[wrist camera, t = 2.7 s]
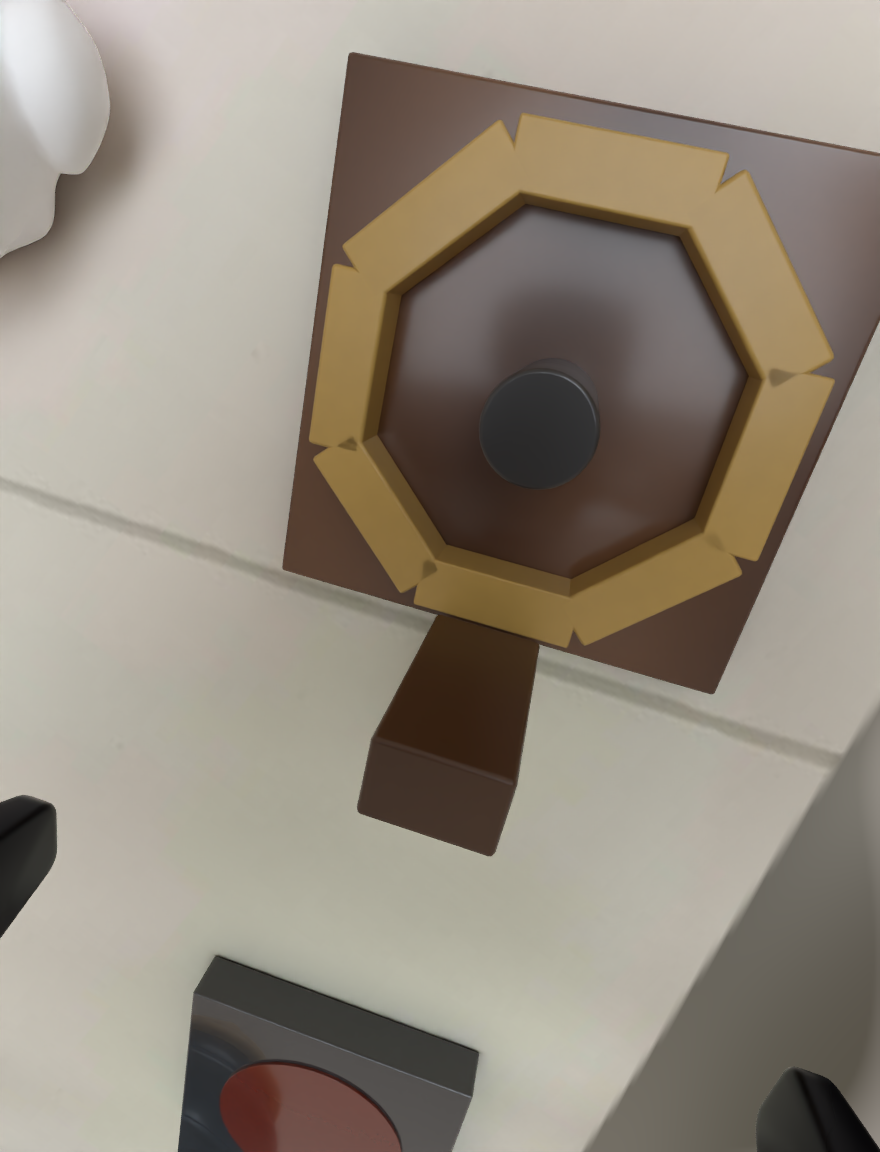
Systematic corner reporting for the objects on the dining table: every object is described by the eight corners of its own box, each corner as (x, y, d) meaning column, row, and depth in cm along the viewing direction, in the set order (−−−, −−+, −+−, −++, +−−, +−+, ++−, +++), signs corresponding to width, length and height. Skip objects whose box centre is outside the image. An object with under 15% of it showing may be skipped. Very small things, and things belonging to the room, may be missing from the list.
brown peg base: (924, 177, 12) (1091, 102, 8) (707, 676, 17) (746, 793, 12) (363, 68, 14) (264, -45, 9) (296, 557, 18) (207, 627, 14)
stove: (479, 1052, 23) (472, 1101, 22) (422, 1205, 27) (412, 1256, 25) (215, 954, 24) (190, 995, 23) (196, 1115, 28) (175, 1158, 27)
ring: (889, 202, 12) (1168, 86, 6) (671, 719, 16) (715, 934, 10) (375, 99, 13) (204, -79, 7) (301, 609, 17) (158, 749, 11)
